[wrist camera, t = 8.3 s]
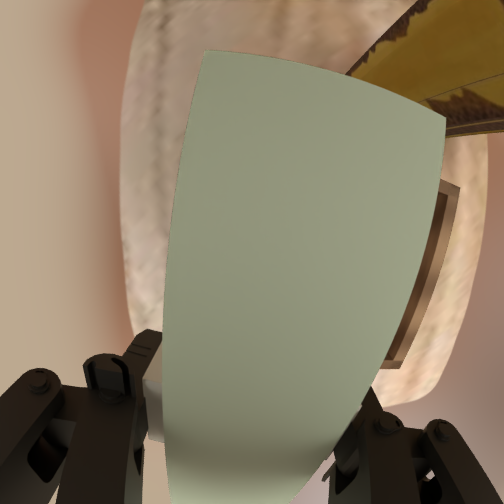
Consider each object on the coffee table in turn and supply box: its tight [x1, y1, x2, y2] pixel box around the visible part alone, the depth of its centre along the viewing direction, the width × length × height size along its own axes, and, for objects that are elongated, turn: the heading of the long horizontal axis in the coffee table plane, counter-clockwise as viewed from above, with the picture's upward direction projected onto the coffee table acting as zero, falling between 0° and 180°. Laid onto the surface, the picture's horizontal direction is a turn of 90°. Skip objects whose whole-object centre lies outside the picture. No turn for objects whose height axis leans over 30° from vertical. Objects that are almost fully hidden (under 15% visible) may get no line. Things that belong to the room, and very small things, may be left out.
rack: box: [380, 179, 460, 369], centre depth 26 cm, size 20×12×6 cm, turn 170°
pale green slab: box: [162, 50, 446, 504], centre depth 12 cm, size 16×4×15 cm, turn 170°
